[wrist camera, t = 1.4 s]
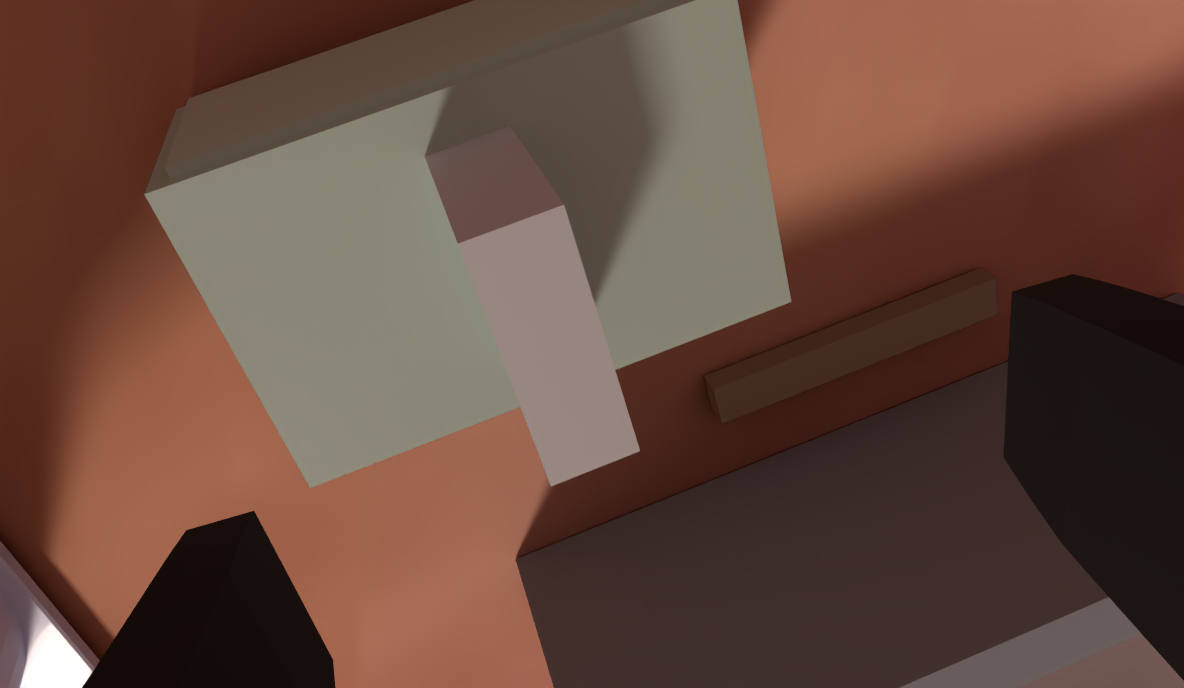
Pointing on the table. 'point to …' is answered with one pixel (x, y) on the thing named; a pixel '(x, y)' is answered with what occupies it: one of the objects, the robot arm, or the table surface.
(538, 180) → the grey block
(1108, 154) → the table surface
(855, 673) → the wall board
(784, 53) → the table surface
